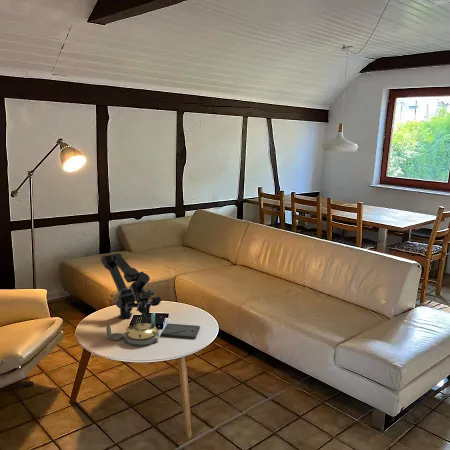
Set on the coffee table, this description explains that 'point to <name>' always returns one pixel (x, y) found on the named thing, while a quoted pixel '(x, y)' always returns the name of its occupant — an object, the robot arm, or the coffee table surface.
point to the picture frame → (180, 331)
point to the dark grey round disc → (141, 343)
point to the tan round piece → (142, 330)
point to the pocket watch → (113, 336)
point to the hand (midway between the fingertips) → (148, 318)
